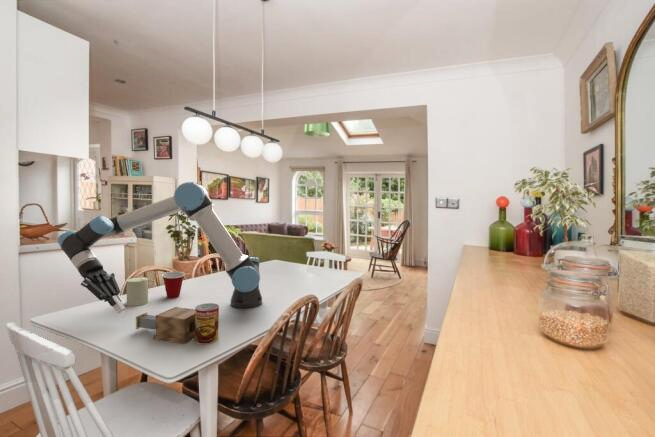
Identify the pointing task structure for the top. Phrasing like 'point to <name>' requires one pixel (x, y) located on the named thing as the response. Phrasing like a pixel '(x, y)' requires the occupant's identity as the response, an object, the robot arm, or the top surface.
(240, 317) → the top surface
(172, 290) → the plastic cup
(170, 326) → the bearing block
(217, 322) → the canned food
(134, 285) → the can
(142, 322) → the shaft
